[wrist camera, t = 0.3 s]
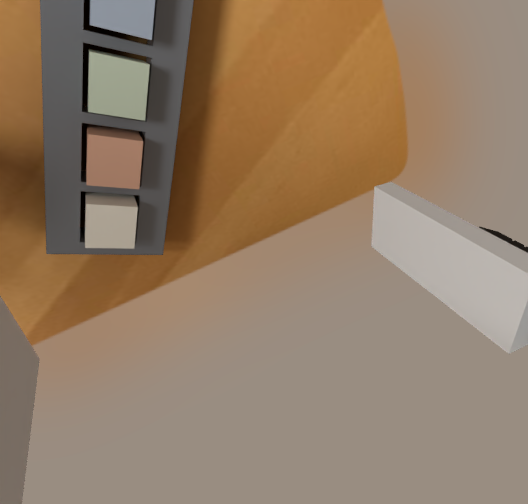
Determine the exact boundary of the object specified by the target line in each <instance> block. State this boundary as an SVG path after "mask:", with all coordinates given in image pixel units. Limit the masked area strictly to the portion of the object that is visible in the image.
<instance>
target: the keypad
mask: <svg viewBox="0 0 528 504" xmlns="http://www.w3.org/2000/svg"><path fill="white" fill-rule="evenodd" d="M193 1H194V0H155V8H154V20H153V32H152V40H149V39H148V42H147V44H144V43H140V42H136V41H132V40H127V39H123V38H119V37H115V36H111V35H106V34H102V33H98V32H94V31H90V30H85V29H83V16H84V0H40V12H41V52H42V91H43V131H44V171H45V210H46V250H47V254H118V255H163V250H164V242H165V234H166V225H167V217H168V209H169V200H170V192H171V184H172V175H173V167H174V159H175V151H176V142H177V134H178V126H179V117H180V109H181V101H182V92H183V84H184V76H185V68H186V59H187V51H188V43H189V34H190V26H191V18H192V10H193ZM83 43H88V44H92V45H97V46H101V47H106V48H110V49H115V50H119V51H124V52H128V53H133V54H137V55H142V56H146V62H147V63H148V64H150V68H149V80H148V92H147V103H146V115H145V121H144V120H137V119H131V118H124V117H118V116H111V115H105V114H98V113H92V112H88V106H87V105H82V78H83ZM82 123H87V124H94V125H101V126H108V127H116V128H123V129H130V130H137V131H140V136H141V138H142V140H143V151H142V163H141V175H140V187H139V189H128V188H115V187H103V186H90V185H87V184H86V171H85V170H81V139H82ZM81 191H85V192H99V193H113V194H127V195H135V200H136V203H137V206H138V211H137V222H136V234H135V246H134V249H125V248H85V227H80V201H81Z"/></svg>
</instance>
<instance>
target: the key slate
mask: <svg viewBox="0 0 528 504" xmlns="http://www.w3.org/2000/svg"><path fill="white" fill-rule="evenodd" d="M154 8H155V0H90V8H89V25H92V26H96V27H100V28H104V29H108V30H112V31H116V32H120V33H124V34H129V35H133V36H137V37H141V38H145V39H149V40H152V32H153V20H154Z"/></svg>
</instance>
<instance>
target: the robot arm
mask: <svg viewBox="0 0 528 504" xmlns="http://www.w3.org/2000/svg"><path fill="white" fill-rule="evenodd" d="M371 245H372V247H373V248H374V249H375V250H377V251H378V252H379V253H380V254H382V255H383V256H384V257H386V258H387V259H388V260H389V261H391V262H392V263H393V264H394V265H396V266H397V267H398V268H399V269H401V270H402V271H404V272H405V273H406V274H407V275H409V276H410V277H411V278H412V279H414V280H415V281H416V282H418V283H419V284H420V285H421V286H423V287H424V288H425V289H426V290H428V291H429V292H430V293H432V294H433V295H434V296H436V297H437V298H438V299H439V300H440V301H442V302H443V303H444V304H446V305H447V306H448V307H449V308H451V309H452V310H453V311H455V312H456V313H457V314H458V315H460V316H461V317H462V318H464V319H465V320H466V321H468V322H469V323H470V324H471V325H473V326H474V327H475V328H476V329H478V330H479V331H480V332H482V333H483V334H484V335H485V336H487V337H488V338H489V339H490V340H492V341H493V342H494V343H496V344H497V345H498V346H499V347H501V348H502V349H503V350H505V351H506V352H507V353H509V354H510V353H512V352H514V351H516V350H518V349H520V348H522V347H524V346H526V345H528V247H524V245H523V244H521V243H519V242H517V241H512V239H511V238H509V237H507V236H505V235H503V234H501V233H499V232H497V231H493V230H490V229H486V228H482V227H477V226H475V225H473V224H471V223H469V222H467V221H465V220H464V219H461V218H460V217H458V216H456V215H454V214H452V213H450V212H448V211H446V210H444V209H442V208H441V207H439V206H437V205H435V204H433V203H431V202H429V201H427V200H425V199H423V198H421V197H419V196H418V195H416V194H414V193H412V192H410V191H408V190H406V189H404V188H402V187H400V186H398V185H396V184H395V183H393V182H389V183H385V184H382V185H378V186H375V189H374V207H373V227H372V244H371ZM38 367H39V357H38V355H37V354H36V353H35V351H34V349H33V347H32V346H31V344H30V343H29V341H28V339H27V338H26V336H25V335H24V333H23V331H22V330H21V328H20V327H19V325H18V323H17V322H16V320H15V319H14V317H13V315H12V314H11V312H10V311H9V309H8V307H7V306H6V304H5V303H4V301H3V299H2V298H1V296H0V504H22V497H23V489H24V481H25V473H26V465H27V457H28V448H29V440H30V432H31V424H32V415H33V408H34V400H35V391H36V383H37V374H38Z"/></svg>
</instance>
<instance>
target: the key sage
mask: <svg viewBox="0 0 528 504" xmlns="http://www.w3.org/2000/svg"><path fill="white" fill-rule="evenodd" d="M149 68H150V64H148V63H147V62H145V61H143V60H139V59H134V58H130V57H125V56H121V55H116V54H112V53H107V52H103V51H98V50H93V49H89V54H88V100H87V104H88V112H92V113H98V114H105V115H111V116H118V117H124V118H131V119H137V120H144V121H145V115H146V103H147V92H148V80H149Z"/></svg>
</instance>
